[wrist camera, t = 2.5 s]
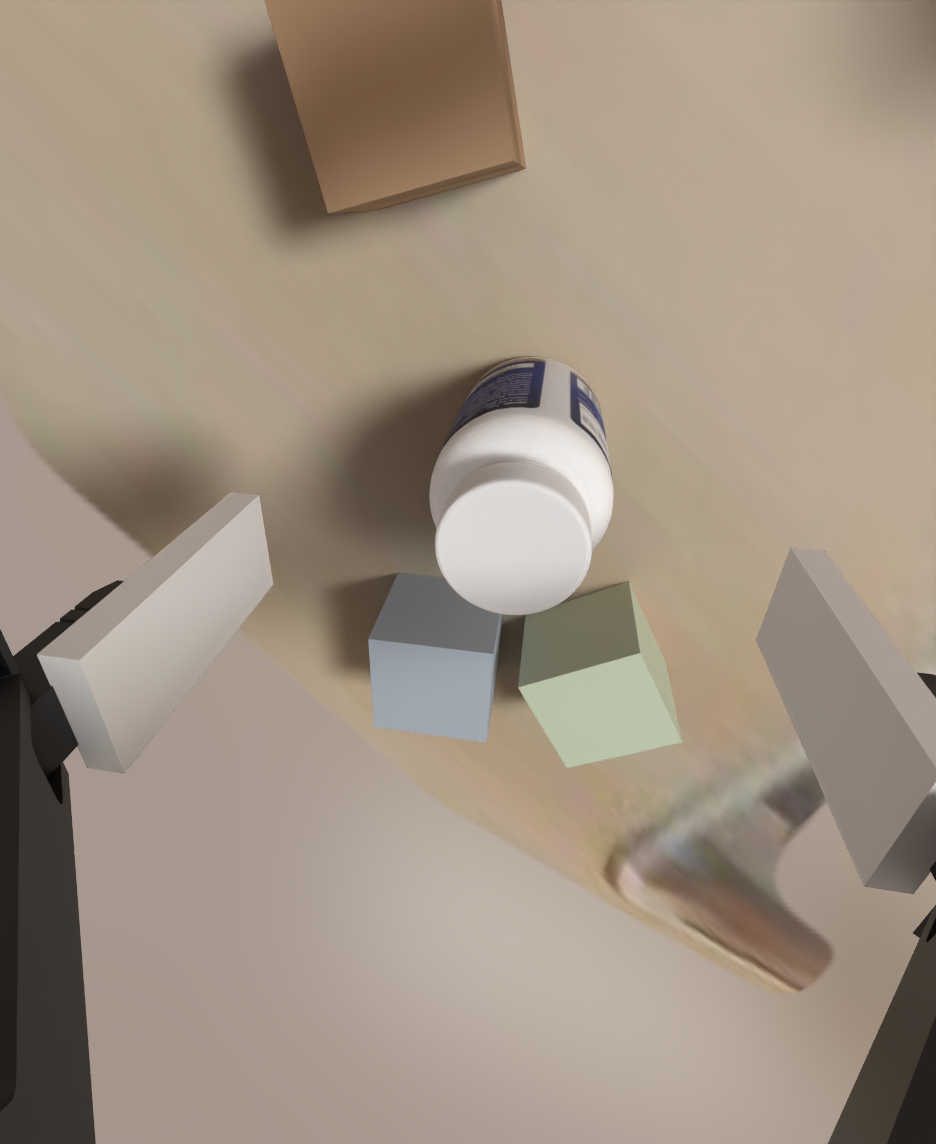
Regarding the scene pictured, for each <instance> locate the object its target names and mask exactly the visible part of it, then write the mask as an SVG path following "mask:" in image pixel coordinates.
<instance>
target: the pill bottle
mask: <svg viewBox="0 0 936 1144" xmlns="http://www.w3.org/2000/svg"><path fill="white" fill-rule="evenodd" d="M429 500H430V509H431V514H432V518H433V521H434V524H435V527H436V534H435V554H436V559H437V562H438V565H439V568H440V570H441V572H442V574H443V576H444V577H445V579H446V581H447V582H448V583H449V585H450V586H451V587H452V588H453V589H454V590H455V591H456V592H457V593H458V594H459V595H460V596H461V597H463V598H464V599H465V600H467V601H468V602H470V603H472V604H474V605H476V606H478V607H480V608H482V609H485V610H487V611H490V612H494V613H499V614H506V615H526V614H533V613H537V612H541V611H544V610H547V609H549V608H552V607H554V606H556V605H557V604H559V603H561V602H562V601H564V600H565V599H567V598H568V597H569V596H570V595H571V594H572V593H573V592H574V591H575V590H576V589H577V588H578V586H579V585H580V584H581V582H582V581H583V579H584V577H585V575H586V573H587V571H588V568H589V565H590V561H591V554H592V551H593V550H594V549H595V548H596V547H597V545H598V544H599V542H600V541H601V539H602V537H603V535H604V534H605V532H606V529H607V527H608V524H609V521H610V518H611V514H612V507H613V480H612V473H611V467H610V461H609V454H608V448H607V441H606V435H605V429H604V423H603V418H602V412H601V409H600V405H599V403H598V400H597V398H596V396H595V393H594V392H593V390H592V388H591V387H590V385H589V384H588V383H587V382H586V380H585V379H584V378H583V377H582V376H581V375H580V374H579V373H577V372H576V371H575V370H573V369H572V368H570V367H569V366H567V365H565V364H563V363H561V362H558V361H556V360H553V359H549V358H544V357H521V358H516V359H512V360H509V361H506V362H504V363H501V364H499V365H497V366H496V367H494V368H492V369H491V370H490V371H488V372H487V373H486V374H485V375H483V376H482V377H481V378H480V379H479V380H478V382H477V383H476V384H475V385H474V387H473V388H472V390H471V391H470V393H469V394H468V396H467V398H466V400H465V402H464V404H463V406H462V408H461V410H460V412H459V415H458V417H457V419H456V421H455V423H454V425H453V427H452V429H451V431H450V433H449V435H448V437H447V439H446V441H445V444H444V446H443V448H442V450H441V452H440V454H439V456H438V459H437V461H436V464H435V467H434V470H433V474H432V477H431V483H430V493H429Z"/></svg>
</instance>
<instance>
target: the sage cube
mask: <svg viewBox="0 0 936 1144" xmlns="http://www.w3.org/2000/svg"><path fill="white" fill-rule="evenodd" d="M518 688H519V690H520V692H521V693H522V695H523V697H524V698H525V700H526V702H527V703H528V705H529V706H530V708H531V710H532V711H533V713H534V715H535V716H536V718H537V720H538V721H539V723H540V725H541V726H542V728H543V730H544V731H545V733H546V734H547V736H548V738H549V739H550V741H551V743H552V744H553V746H554V748H555V749H556V751H557V753H558V754H559V756H560V758H561V759H562V761H563V762H564V764H565V766H566V767H567V768H569V767H574V766H578V765H583V764H587V763H592V762H596V761H601V760H605V759H609V758H614V757H618V756H623V755H627V754H632V753H636V752H641V751H645V750H650V749H654V748H659V747H663V746H668V745H672V744H677V743H681V742H682V740H681V735H680V730H679V725H678V720H677V715H676V711H675V706H674V701H673V696H672V691H671V687H670V682H669V677H668V672H667V667H666V663H665V660H664V658H663V656H662V654H661V651H660V649H659V647H658V645H657V642H656V640H655V638H654V636H653V634H652V631H651V629H650V627H649V625H648V622H647V620H646V618H645V616H644V613H643V611H642V609H641V607H640V604H639V602H638V600H637V598H636V596H635V593H634V591H633V589H632V587H631V584H630V582H629V581H627V582H624V583H621V584H618V585H615V586H612V587H609V588H606V589H603V590H600V591H597V592H594V593H591V594H588V595H585V596H582V597H579V598H576V599H573V600H569V601H566V602H563V603H560V604H557V605H556V606H554V607H552V608H549V609H547V610H544V611H541V612H537V613H533V614H527V615H525V625H524V634H523V644H522V654H521V664H520V673H519V683H518Z"/></svg>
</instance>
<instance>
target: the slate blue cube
mask: <svg viewBox="0 0 936 1144" xmlns="http://www.w3.org/2000/svg"><path fill="white" fill-rule="evenodd" d="M501 624H502V614H499V613H494V612H490V611H487V610H485V609H482V608H480V607H478V606H476V605H474V604H472V603H470V602H468V601H467V600H465V599H464V598H463V597H461V596H460V595H459V594H458V593H457V592H456V591H455V590H454V589H453V588H452V587H451V586H450V585H449V583H448V582H447V581H446V579H445V578H440V577H431V576H422V575H413V574H404V573H398V574H397V576H396V578H395V581H394V583H393V585H392V587H391V589H390V592H389V594H388V596H387V598H386V601H385V603H384V605H383V607H382V609H381V612H380V614H379V616H378V618H377V620H376V623H375V625H374V627H373V629H372V631H371V634H370V636H369V638H368V644H369V658H370V672H371V686H372V700H373V714H374V727H378V728H386V729H393V730H400V731H408V732H415V733H422V734H429V735H437V736H444V737H451V738H459V739H466V740H473V741H481V742H487V736H488V730H489V723H490V716H491V710H492V703H493V696H494V690H495V683H496V677H497V670H498V660H499V648H500V636H501Z"/></svg>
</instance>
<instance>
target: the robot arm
mask: <svg viewBox="0 0 936 1144" xmlns="http://www.w3.org/2000/svg"><path fill="white" fill-rule="evenodd" d="M272 586H273V579H272V573H271V566H270V560H269V554H268V548H267V542H266V535H265V529H264V523H263V517H262V510H261V504H260V498H259V495H256V494H246V493H236V492H230V493H229V494H228V495H227V496H225V497H224V498H223V499H222V500H221V501H220V502H218V503H217V504H216V505H215V506H214V507H212V508H211V509H210V510H209V511H208V512H206V513H205V514H204V515H203V516H202V517H200V518H199V519H198V520H197V521H196V522H194V523H193V524H192V525H191V526H190V527H188V528H187V529H186V530H185V531H184V532H182V533H181V534H180V535H179V536H178V537H176V538H175V539H174V540H173V541H172V542H171V543H169V544H168V545H167V546H166V547H165V548H163V549H162V550H161V551H160V552H159V553H157V554H156V555H155V556H154V557H153V558H151V559H150V560H149V561H148V562H147V563H146V564H144V565H143V566H142V567H141V568H139V569H138V570H137V571H136V572H135V573H133V574H132V575H131V576H130V577H129V578H128V579H127V580H125V581H116V582H113V583H111V584H109V585H107V586H105V587H103V588H101V589H99V590H97V591H95V592H93V593H91V594H90V595H89V596H88V597H86V598H85V599H84V600H83V601H81V602H80V603H79V604H78V605H76V606H75V609H74V610H70V611H69V612H68V613H67V614H65V615H64V616H63V617H62V618H60V622H55V623H54V624H53V625H52V626H50V627H49V628H48V629H47V630H45V631H44V632H43V633H42V634H40V635H39V636H38V637H37V638H36V639H34V640H33V641H32V642H30V643H29V644H28V645H27V646H25V647H24V648H23V649H22V650H21V651H19V652H18V653H17V654H16V655H14V656H13V655H12V653H11V651H10V649H9V647H8V645H7V643H6V641H5V638H4V636H3V634H2V632H1V630H0V1144H96V1143H95V1130H94V1116H93V1103H92V1089H91V1075H90V1062H89V1048H88V1035H87V1020H86V1008H85V1007H86V1006H85V993H84V979H83V967H82V966H83V965H82V952H81V938H80V924H79V911H78V897H77V884H76V870H75V856H74V844H73V843H74V842H73V829H72V816H71V801H70V787H69V774H68V772H67V770H66V768H65V765H64V763H63V761H64V760H65V759H66V758H67V757H68V755H69V754H70V753H71V752H72V751H73V750H74V749H75V748H76V747H77V746H78V749H79V751H80V753H81V755H82V758H83V760H84V762H85V764H86V767H87V768H92V769H98V770H105V771H111V772H118V773H126V771H127V770H128V769H129V767H130V766H131V765H132V764H133V762H134V761H135V760H136V759H137V757H138V756H139V755H140V753H141V752H142V751H143V750H144V748H145V747H146V746H147V745H148V743H149V742H150V741H151V739H152V738H153V737H154V736H155V734H156V733H157V732H158V731H159V729H160V728H161V727H162V726H163V724H164V723H165V722H166V720H167V719H168V718H169V716H170V715H171V714H172V712H174V710H175V709H176V708H177V706H178V705H179V704H180V703H181V701H182V700H183V699H184V698H185V696H186V695H187V694H188V692H189V691H190V690H191V689H192V687H193V686H194V685H195V684H196V682H197V681H198V680H199V678H200V677H201V676H202V675H203V673H204V672H205V671H206V670H207V668H208V667H209V666H210V664H211V663H212V662H213V661H214V659H215V658H216V657H217V656H218V654H219V653H220V652H221V650H222V649H223V648H224V647H225V645H226V644H227V643H228V642H229V640H230V639H231V638H232V636H233V635H234V634H235V633H236V631H237V630H238V629H239V628H240V626H241V625H242V624H243V622H244V621H245V620H246V619H247V617H248V616H249V615H250V614H251V612H252V611H253V610H254V609H255V607H256V606H257V605H258V603H259V602H260V601H261V600H262V598H263V597H264V596H265V595H266V593H267V592H268V591H269V589H270V588H271V587H272ZM756 641H757V643H758V645H759V648H760V650H761V652H762V655H763V657H764V659H765V661H766V664H767V666H768V668H769V671H770V673H771V675H772V677H773V680H774V682H775V684H776V686H777V689H778V691H779V693H780V696H781V698H782V700H783V702H784V705H785V707H786V709H787V712H788V714H789V716H790V718H791V721H792V723H793V725H794V728H795V730H796V732H797V734H798V737H799V739H800V741H801V744H802V746H803V748H804V750H805V753H806V755H807V757H808V760H809V762H810V764H811V766H812V769H813V771H814V773H815V776H816V778H817V780H818V782H819V785H820V787H821V789H822V792H823V794H824V796H825V798H826V801H827V803H828V805H829V808H830V810H831V812H832V814H833V816H834V819H835V821H836V823H837V826H838V828H839V830H840V833H841V835H842V837H843V840H844V842H845V844H846V846H847V849H848V851H849V853H850V856H851V858H852V860H853V862H854V865H855V867H856V869H857V872H858V874H859V876H860V878H861V881H862V883H863V885H864V887H871V888H877V889H885V890H891V891H897V892H903V893H910V894H914V893H915V891H916V890H917V889H918V888H919V886H920V885H921V884H922V882H923V881H924V880H925V878H926V877H927V876H928V875H929V873H930V872H931V873H932V875H933V877H934V879H935V880H936V676H935V675H933V674H925V673H916V671H915V670H914V669H913V667H912V666H911V665H910V663H909V662H908V661H907V659H906V658H905V657H904V655H903V654H902V653H901V651H900V650H899V649H898V647H897V646H896V645H895V643H894V642H893V641H892V639H891V638H890V637H889V635H888V634H887V633H886V631H885V630H884V629H883V627H882V626H881V625H880V623H879V622H878V621H877V619H876V618H875V617H874V615H873V614H872V613H871V611H870V610H869V609H868V608H867V606H866V605H865V604H864V602H863V601H862V600H861V598H860V597H859V596H858V594H857V593H856V592H855V590H854V589H853V588H852V586H851V585H850V584H849V582H848V581H847V580H846V578H845V577H844V576H843V574H842V573H841V572H840V570H839V569H838V568H837V566H836V565H835V564H834V562H833V561H832V560H831V558H830V557H829V556H828V554H827V553H826V552H825V551H821V550H811V549H801V548H790V551H789V553H788V556H787V559H786V561H785V564H784V567H783V569H782V572H781V575H780V577H779V580H778V583H777V585H776V588H775V591H774V593H773V596H772V599H771V601H770V604H769V607H768V610H767V612H766V615H765V618H764V620H763V623H762V626H761V628H760V631H759V634H758V636H757V639H756ZM913 934H915V935H916V936H918V937H919V938H920V939H919V942H918V944H917V946H916V948H915V950H914V953H913V955H912V957H911V959H910V962H909V964H908V966H907V968H906V971H905V973H904V975H903V977H902V980H901V982H900V984H899V986H898V988H897V991H896V993H895V995H894V997H893V1000H892V1002H891V1004H890V1006H889V1008H888V1011H887V1013H886V1015H885V1017H884V1020H883V1022H882V1024H881V1026H880V1029H879V1031H878V1033H877V1035H876V1038H875V1040H874V1042H873V1044H872V1047H871V1049H870V1051H869V1054H868V1055H867V1058H866V1060H865V1062H864V1064H863V1067H862V1069H861V1071H860V1073H859V1076H858V1078H857V1080H856V1082H855V1084H854V1087H853V1089H852V1091H851V1093H850V1096H849V1098H848V1100H847V1102H846V1104H845V1107H844V1109H843V1111H842V1113H841V1116H840V1118H839V1120H838V1122H837V1125H836V1127H835V1129H834V1131H833V1134H832V1136H831V1138H830V1140H829V1143H828V1144H936V905H935V907H934V908H933V909H932V910H931V911H930V913H929V914H928V915H927V916H926V918H925V919H924V920H923V921H922V922H921V924H920V925H919V926H918V927H917V928H916V930H915V931H914V932H913Z"/></svg>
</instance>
